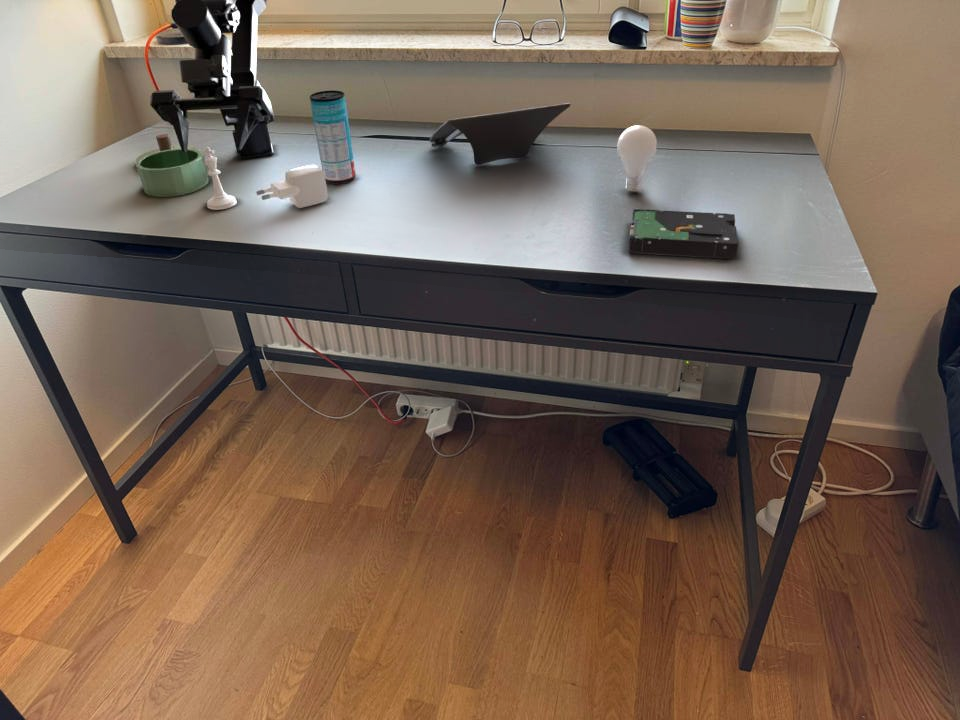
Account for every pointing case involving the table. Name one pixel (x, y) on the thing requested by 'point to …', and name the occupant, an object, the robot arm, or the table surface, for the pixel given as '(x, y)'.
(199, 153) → the tin
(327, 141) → the beverage can
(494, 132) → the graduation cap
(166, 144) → the tin lid
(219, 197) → the chess piece
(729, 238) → the disk drive
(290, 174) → the power adapter
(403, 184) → the table surface
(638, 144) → the lightbulb
